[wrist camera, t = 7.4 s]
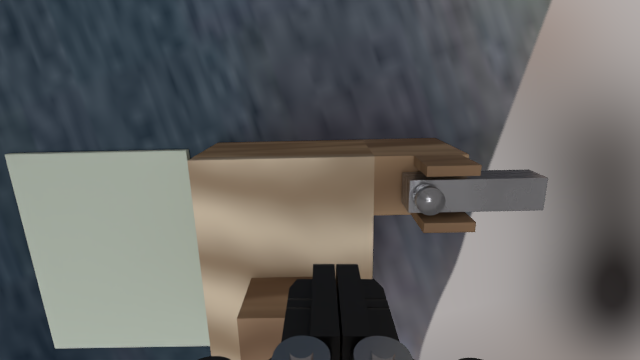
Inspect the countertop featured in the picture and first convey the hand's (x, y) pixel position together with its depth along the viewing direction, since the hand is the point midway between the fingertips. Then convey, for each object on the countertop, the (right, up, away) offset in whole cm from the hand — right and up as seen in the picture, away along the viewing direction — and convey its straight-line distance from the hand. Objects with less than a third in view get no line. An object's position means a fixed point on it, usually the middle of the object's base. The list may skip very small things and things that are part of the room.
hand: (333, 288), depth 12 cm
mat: (-19, -3, +20) cm, 28 cm away
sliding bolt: (+9, +3, +11) cm, 14 cm away
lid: (-3, -2, +15) cm, 15 cm away
